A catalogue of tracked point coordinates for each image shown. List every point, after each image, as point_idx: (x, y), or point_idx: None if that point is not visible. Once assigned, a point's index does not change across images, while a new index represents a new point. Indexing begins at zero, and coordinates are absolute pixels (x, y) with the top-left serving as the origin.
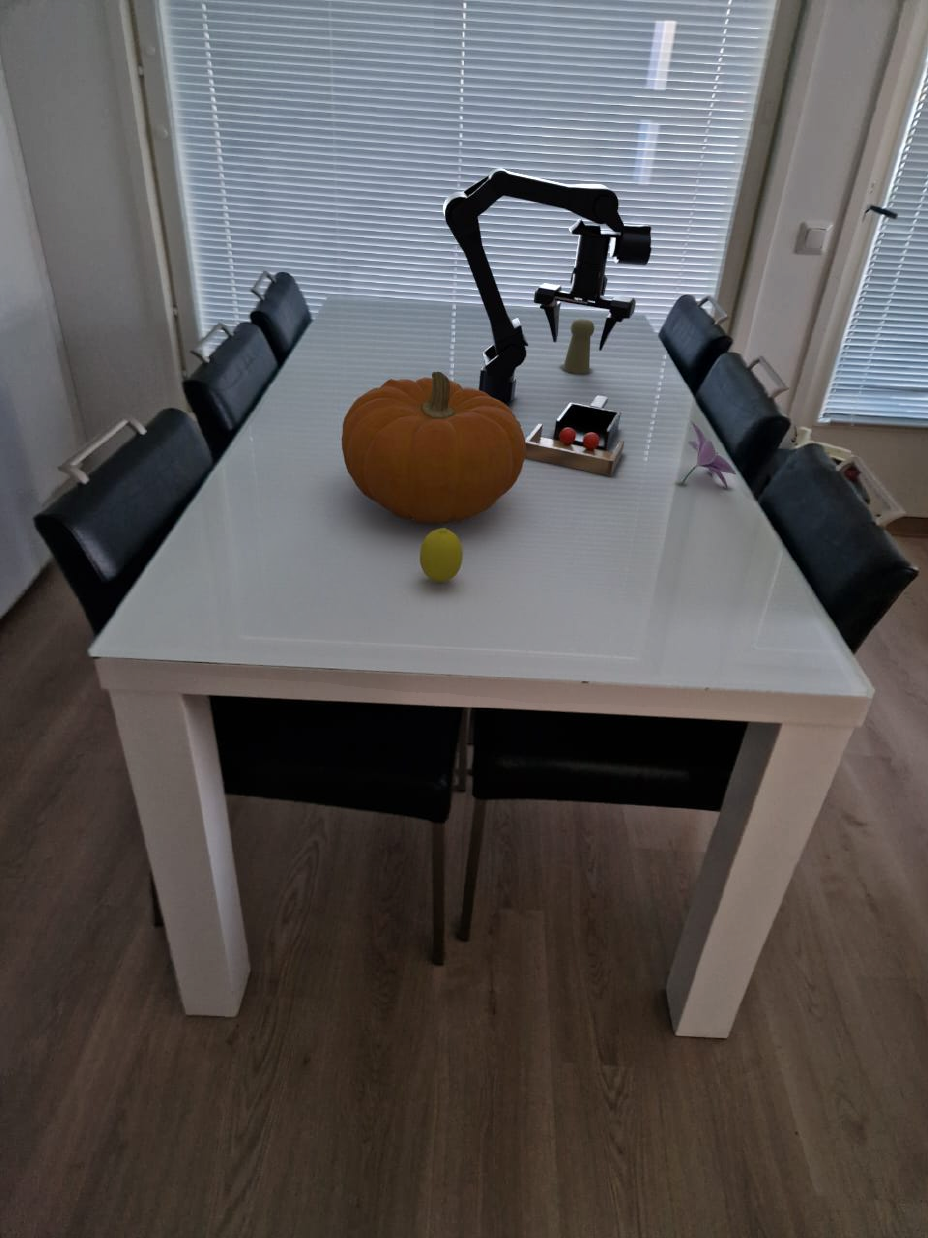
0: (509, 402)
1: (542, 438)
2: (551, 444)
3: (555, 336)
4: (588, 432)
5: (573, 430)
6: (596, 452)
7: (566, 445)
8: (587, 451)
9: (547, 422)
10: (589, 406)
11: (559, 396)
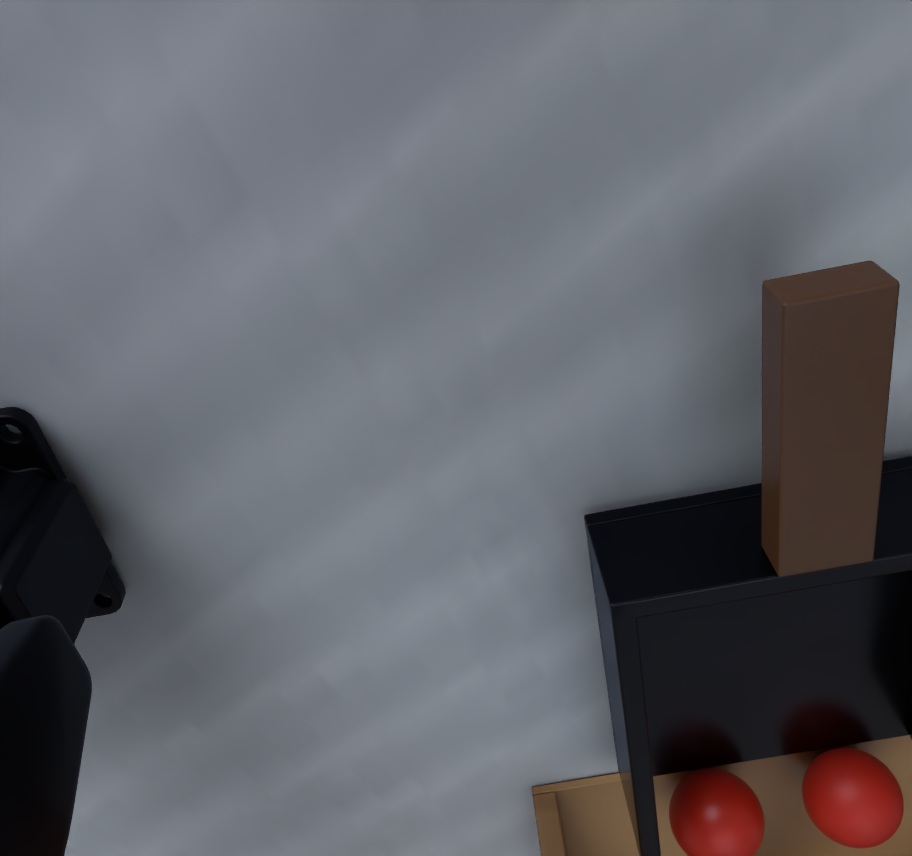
0: (109, 560)
1: (568, 796)
2: None
3: (71, 818)
4: (789, 643)
5: (755, 845)
6: None
7: None
8: None
9: (481, 602)
10: (776, 582)
11: (262, 25)
